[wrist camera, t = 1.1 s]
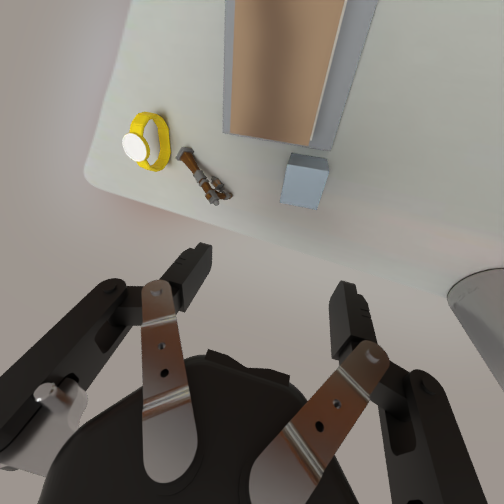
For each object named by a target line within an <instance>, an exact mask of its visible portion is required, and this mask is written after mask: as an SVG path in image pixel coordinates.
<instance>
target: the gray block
mask: <svg viewBox="0 0 504 504" xmlns="http://www.w3.org/2000/svg"><path fill="white" fill-rule="evenodd" d="M328 174H329V167H328V161H327V159H325V158H319V157H313V156H307V155H302V154H296V153H292V154H291V156H290V159H289V161H288V164H287V168H286V173H285V178H284V183H283V188H282V193H281V198H280V203H284V204H289V205H294V206H299V207H304V208H309V209H314V210H317V208H318V205H319V202H320V199H321V196H322V193H323V190H324V187H325V184H326V180H327V177H328Z"/></svg>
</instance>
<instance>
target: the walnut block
mask: <svg viewBox="0 0 504 504" xmlns="http://www.w3.org/2000/svg"><path fill="white" fill-rule="evenodd" d="M344 1H345V0H235V16H234V42H233V68H232V94H231V120H230V133H233V134H239V135H245V136H251V137H257V138H263V139H269V140H275V141H281V142H287V143H293V144H299V145H305V146H308V145H309V141H310V137H311V133H312V129H313V125H314V121H315V117H316V113H317V109H318V105H319V101H320V97H321V93H322V89H323V85H324V81H325V77H326V73H327V69H328V65H329V61H330V57H331V53H332V49H333V45H334V41H335V37H336V33H337V29H338V25H339V21H340V17H341V13H342V9H343V5H344Z"/></svg>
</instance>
